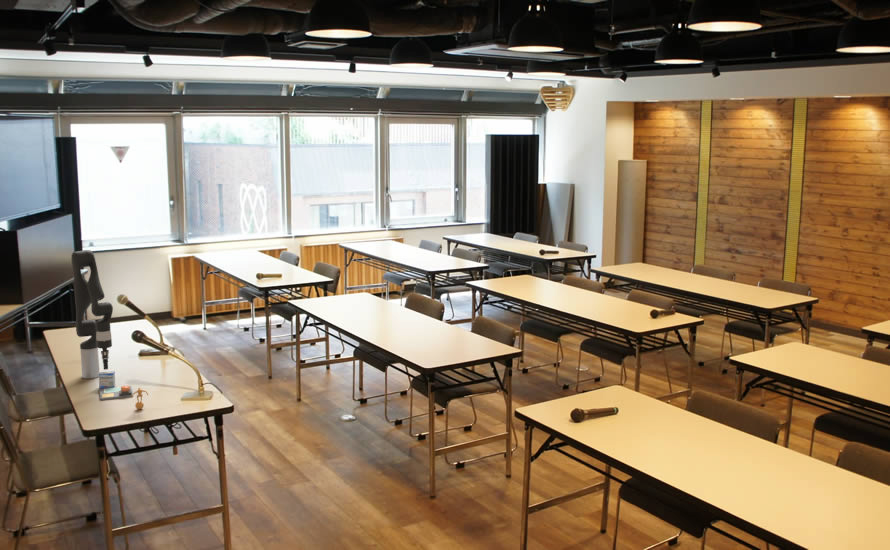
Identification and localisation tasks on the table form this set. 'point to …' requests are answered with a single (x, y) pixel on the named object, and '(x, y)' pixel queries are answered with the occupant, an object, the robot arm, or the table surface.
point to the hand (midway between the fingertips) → (105, 367)
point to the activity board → (114, 393)
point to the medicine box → (106, 380)
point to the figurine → (139, 404)
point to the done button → (125, 388)
